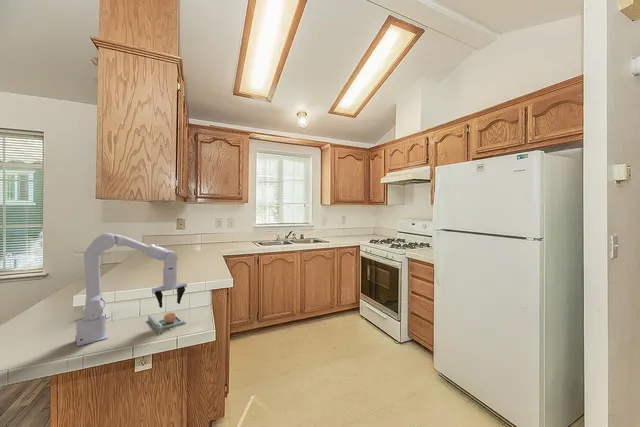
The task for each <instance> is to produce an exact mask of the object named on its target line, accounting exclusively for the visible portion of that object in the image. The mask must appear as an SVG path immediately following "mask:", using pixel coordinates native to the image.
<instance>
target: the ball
mask: <svg viewBox="0 0 640 427" xmlns="http://www.w3.org/2000/svg"><path fill="white" fill-rule="evenodd" d="M176 316H177V315H176V314H175V312H173V311H170V312H167V313H165V314H164V316H163V319H164V321H165V322H166V323H172V322H174V320H175V319H176Z"/></svg>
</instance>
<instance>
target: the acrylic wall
mask: <svg viewBox="0 0 640 427" xmlns="http://www.w3.org/2000/svg"><path fill="white" fill-rule="evenodd" d="M147 317H148V318H147V320H148V322H149V324H150V325H151V326H152V327H153V328H154V329H155V330H156V332H157V333H158V334H159V335H162V334H163V330H162V327H161V326H160V325H159V324H158V323H157V321H158V320H156V319H155V318H154V317H153V316H152V315H151V314H148V316H147Z"/></svg>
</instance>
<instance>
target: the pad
mask: <svg viewBox="0 0 640 427" xmlns="http://www.w3.org/2000/svg"><path fill="white" fill-rule="evenodd" d="M156 321H157V323H158V324H159V325H160V326H161V327H162V331H164V330H167V329H171V328H175V327H179V326H183V325H186V324H187V323H186V321H185V320H183V319H182V318H181V317H180V316H179V315H176V319H175V320H174V322H172V323H166V322H165V321H164V318H163V319H160V320H156Z"/></svg>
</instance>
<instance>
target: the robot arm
mask: <svg viewBox="0 0 640 427" xmlns="http://www.w3.org/2000/svg"><path fill="white" fill-rule="evenodd" d="M115 245H116V246H115ZM114 246H115V247H116V248H117V247H124V246H125V247H128V248H131V249H134V250H137V251H140V252H144V255H145V256H147V257H148V258H152V259H155V260H157V261H160V262H161V261H163V267H162V273H163V274H162V285H161V286H157V287H152V288H151V293H152V294H154V295H155V298H156V299H157V303H158V307H159V308H160V309H162V308H163V292H166V291H171V290H176V294H177V295H176V296H177V298H176V303H177V305H180V304H181V301H182V297H183V295H184V293H185V292H186V288H187V287H188V282H182V283H178V280H177V279H178V266H177V265H178V263H177V262H178V260H179V257H178V254H177V253H176V252H175V251H173V250H172V249H169V248H165V247H163V246H160V245H159V244H157V243H155V244H154V243H152V244H148V245H147V244H146V243H143V242H141V241H138V240H136V239H133V238H130V237H128V236H125V235H121V234H117V233H113V232H111V231H110V232H109V231H106V232H103V233H102V234H100V235H99V236H97V237H96V238H94V239H93V240H92V241H91V243H90V244H89V246H88V247H87V248H86V250H85V251H84V253H83V264H84V265H83V266H84V280H85V294H86V296H85V302H84V303H85V304H84V305H85V307H84V309H83V311H82V319H79V320H76V322H75V323H76V324H75V327H76V329H75V331H76V333H75V341H76V345H77V347H79V346H83V345H87V344H90V343H91V344H92V343H95V342H98V341H99V342H100V341H103V340H106V339H108V337H109V336H108V334H107V330H106V329H107V328H106V324H107V323H106V319H107V318H106V314H105V313H104V312H103V309H104V307H105V301H104V300H103V299H102V295H103V293H102V283H101V282H102V281H101V270H100V268H101V266H100V256H101V255H102V254H103V253H104V252H105V251H107V250H110V249H111V248H113V247H114Z"/></svg>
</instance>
